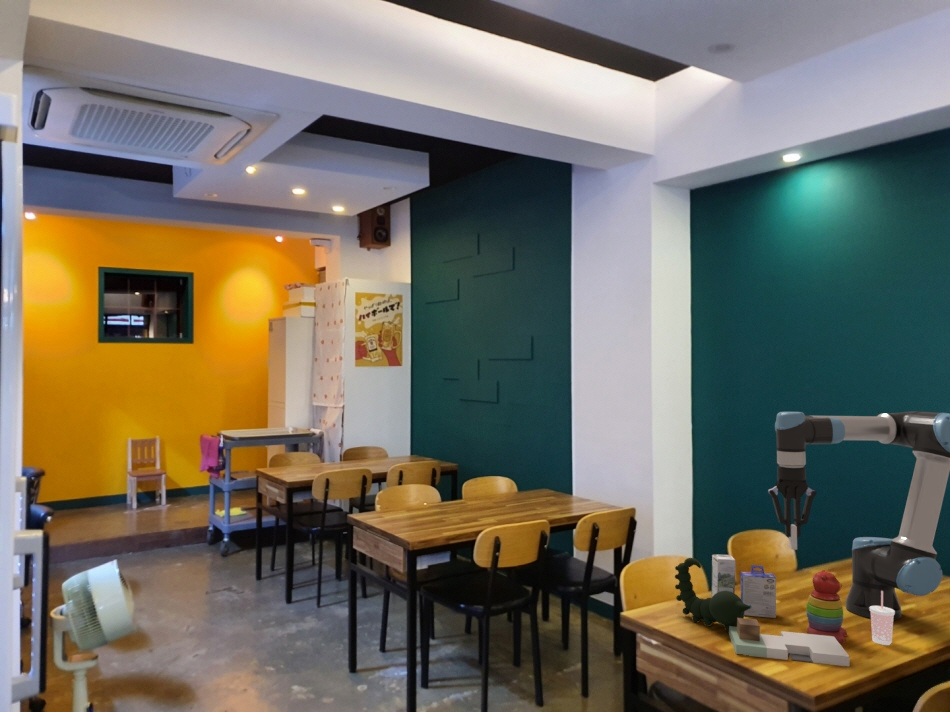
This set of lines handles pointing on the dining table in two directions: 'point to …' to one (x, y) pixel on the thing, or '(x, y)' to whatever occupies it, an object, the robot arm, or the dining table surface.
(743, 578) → the ink cartridge box
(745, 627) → the walnut block
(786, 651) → the trap deck
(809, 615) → the stacking bear
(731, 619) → the toy figurine
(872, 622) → the beverage cup
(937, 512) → the robot arm
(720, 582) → the syrup box
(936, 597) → the dining table surface
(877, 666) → the dining table surface
